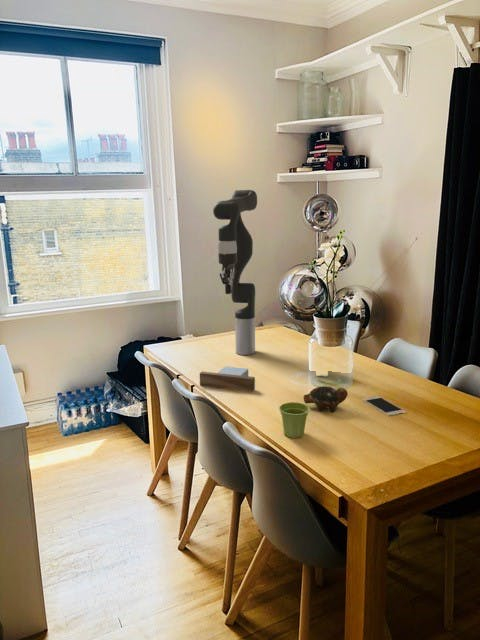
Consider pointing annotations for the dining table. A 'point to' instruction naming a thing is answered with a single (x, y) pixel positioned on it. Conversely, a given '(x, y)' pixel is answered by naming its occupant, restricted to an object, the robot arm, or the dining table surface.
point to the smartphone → (383, 405)
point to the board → (227, 381)
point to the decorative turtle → (326, 397)
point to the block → (234, 371)
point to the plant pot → (294, 418)
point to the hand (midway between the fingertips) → (228, 293)
